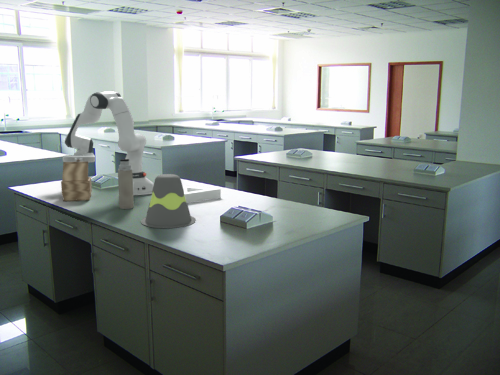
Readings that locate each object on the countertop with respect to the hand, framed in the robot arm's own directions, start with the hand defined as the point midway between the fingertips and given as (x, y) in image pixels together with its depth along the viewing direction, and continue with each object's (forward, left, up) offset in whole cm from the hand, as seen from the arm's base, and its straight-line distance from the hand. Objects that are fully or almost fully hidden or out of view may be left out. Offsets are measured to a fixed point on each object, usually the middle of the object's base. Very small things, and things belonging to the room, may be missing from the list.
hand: (78, 160), depth 288 cm
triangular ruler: (-69, +28, -22) cm, 78 cm away
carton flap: (0, +19, -4) cm, 19 cm away
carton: (0, +17, -22) cm, 28 cm away
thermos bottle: (-30, +47, -22) cm, 60 cm away
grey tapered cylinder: (-51, +81, -22) cm, 98 cm away
